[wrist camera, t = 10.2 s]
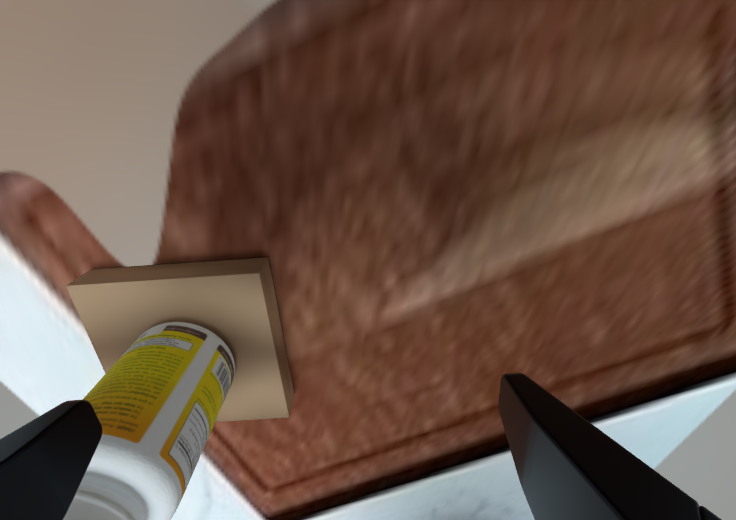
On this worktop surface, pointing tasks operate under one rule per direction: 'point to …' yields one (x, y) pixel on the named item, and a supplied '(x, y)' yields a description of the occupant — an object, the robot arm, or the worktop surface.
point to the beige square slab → (196, 321)
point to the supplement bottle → (153, 423)
